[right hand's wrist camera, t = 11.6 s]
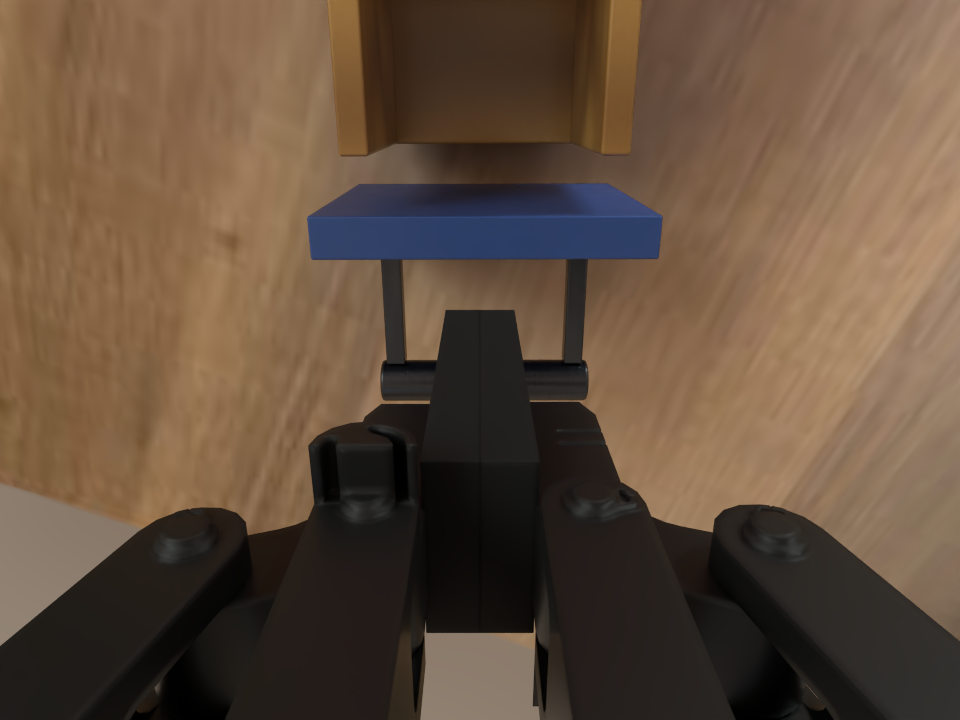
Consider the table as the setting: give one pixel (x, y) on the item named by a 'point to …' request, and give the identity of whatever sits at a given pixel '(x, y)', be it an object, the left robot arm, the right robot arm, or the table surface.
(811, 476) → the table surface
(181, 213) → the table surface
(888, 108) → the table surface
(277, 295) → the table surface
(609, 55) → the drawer
